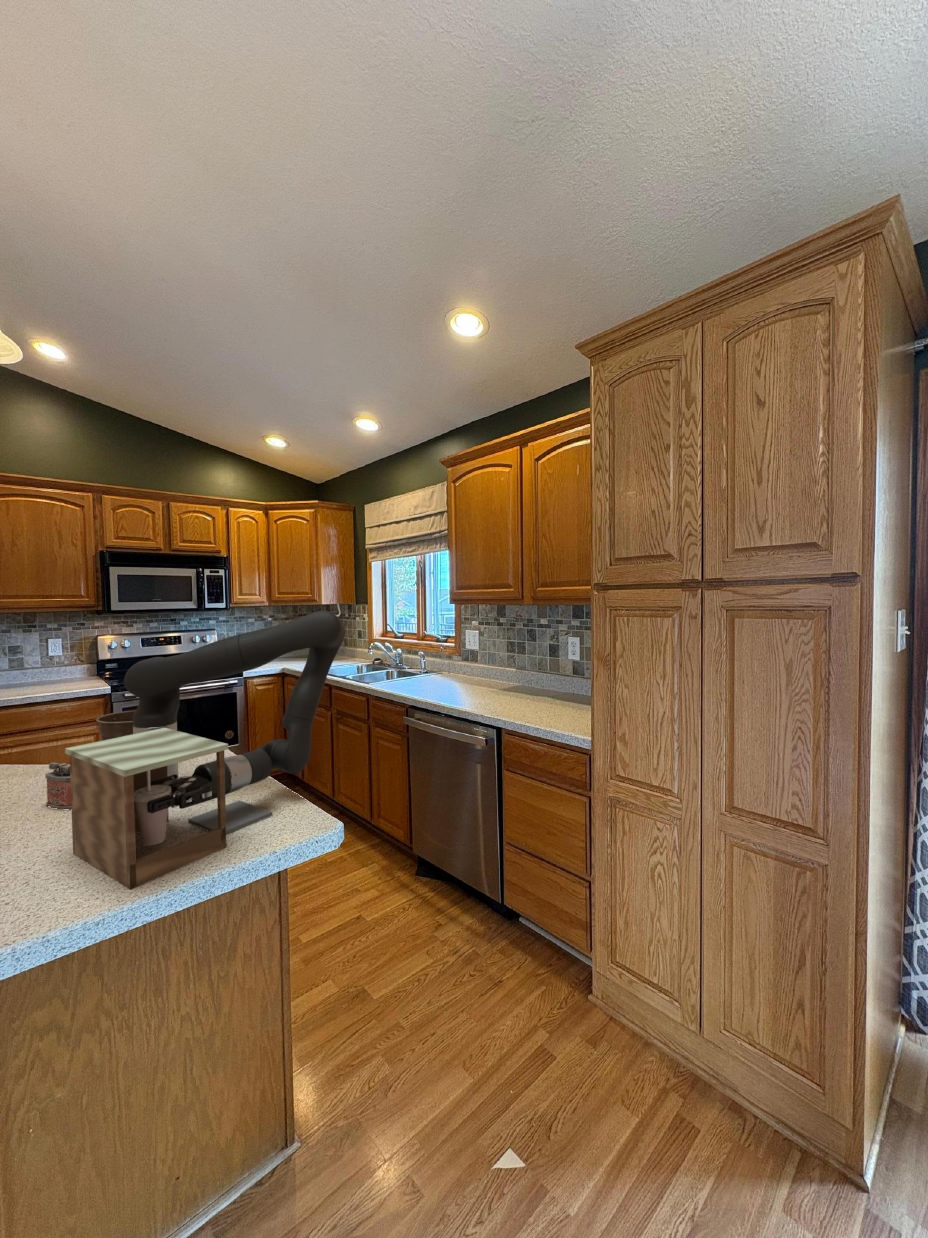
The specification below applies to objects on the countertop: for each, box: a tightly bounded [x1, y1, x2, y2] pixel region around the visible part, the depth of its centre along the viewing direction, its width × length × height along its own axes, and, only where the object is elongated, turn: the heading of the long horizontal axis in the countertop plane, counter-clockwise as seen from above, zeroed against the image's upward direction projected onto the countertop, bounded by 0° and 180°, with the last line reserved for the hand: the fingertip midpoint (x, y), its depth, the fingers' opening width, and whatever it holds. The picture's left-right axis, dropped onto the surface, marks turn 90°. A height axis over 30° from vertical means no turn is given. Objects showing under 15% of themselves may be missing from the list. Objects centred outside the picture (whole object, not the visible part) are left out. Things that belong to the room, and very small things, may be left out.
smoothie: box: [134, 770, 172, 846], centre depth 98 cm, size 6×6×14 cm
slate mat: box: [187, 800, 273, 836], centre depth 112 cm, size 12×12×1 cm
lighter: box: [45, 762, 71, 809], centre depth 118 cm, size 8×3×10 cm, turn 71°
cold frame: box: [64, 728, 229, 890], centre depth 97 cm, size 23×18×20 cm
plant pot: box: [95, 709, 137, 741], centre depth 141 cm, size 16×16×16 cm
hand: (139, 803), depth 96 cm, fingers closed on smoothie, 6 cm apart
